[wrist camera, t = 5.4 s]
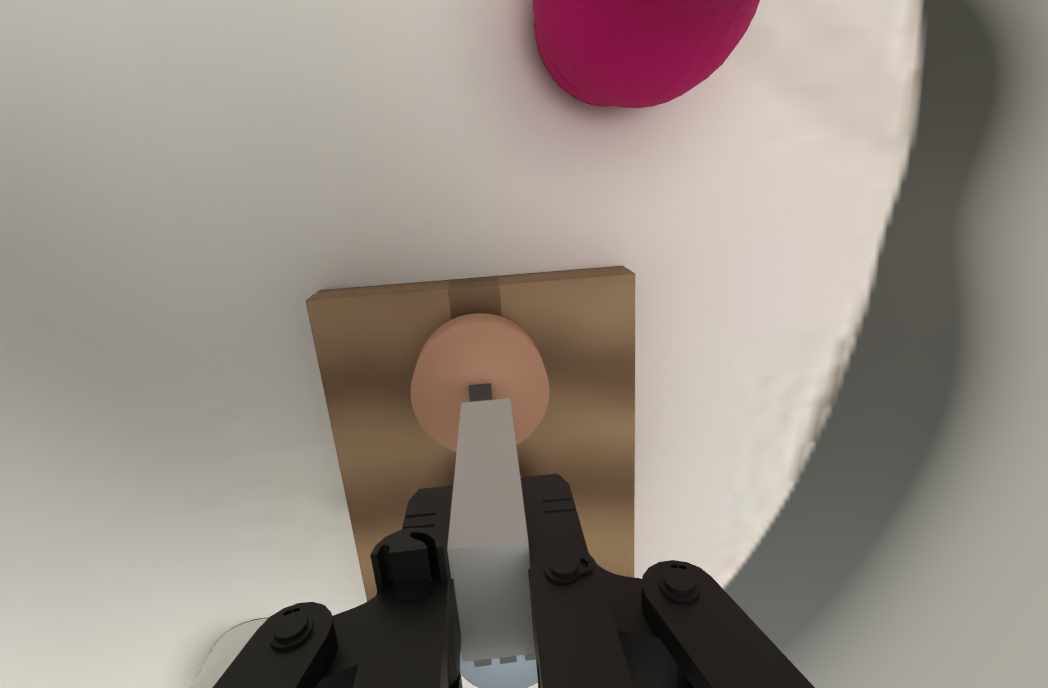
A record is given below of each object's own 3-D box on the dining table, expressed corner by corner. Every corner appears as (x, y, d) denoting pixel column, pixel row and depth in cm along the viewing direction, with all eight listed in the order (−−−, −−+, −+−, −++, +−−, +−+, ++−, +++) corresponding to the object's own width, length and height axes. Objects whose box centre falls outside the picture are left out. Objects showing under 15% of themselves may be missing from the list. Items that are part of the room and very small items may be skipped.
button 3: (452, 553, 28) (448, 621, 23) (546, 543, 28) (558, 608, 24) (462, 626, 29) (460, 702, 25) (550, 615, 29) (562, 688, 25)
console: (319, 290, 23) (305, 300, 22) (622, 265, 24) (635, 273, 22) (385, 629, 30) (379, 660, 28) (624, 600, 31) (633, 629, 29)
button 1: (415, 304, 22) (400, 336, 18) (533, 295, 22) (546, 323, 18) (429, 412, 23) (419, 464, 19) (539, 402, 24) (553, 451, 19)
